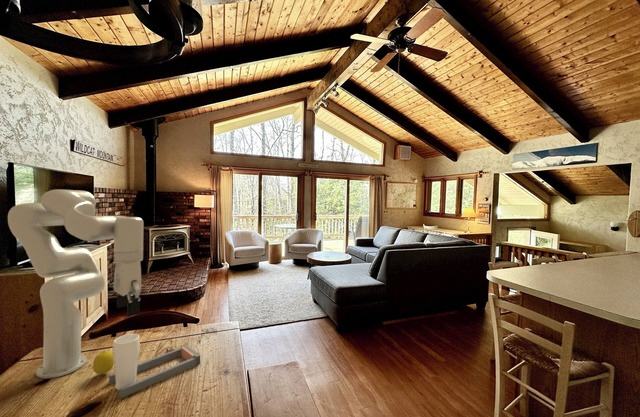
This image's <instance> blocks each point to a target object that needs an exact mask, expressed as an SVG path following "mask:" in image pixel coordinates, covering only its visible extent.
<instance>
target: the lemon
mask: <svg viewBox="0 0 640 417" xmlns="http://www.w3.org/2000/svg"><path fill="white" fill-rule="evenodd" d="M113 366H114V357H113V352H111V351H109V350H102V351H101V352H99V353H98V354H97V355H96V356H95V357H94V360H93V363H92V368H93V372H94V373H95V374H98V375H102V376H104V375H105V374H106V373H109V371H110V370H111V369H112V368H113Z"/></svg>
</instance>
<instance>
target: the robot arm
mask: <svg viewBox="0 0 640 417" xmlns="http://www.w3.org/2000/svg"><path fill="white" fill-rule="evenodd" d="M96 206H97V201H96V198H95V196H94V195H93V194H92V193H91V192H89V191H86V190H79V189H77V190H75V189H74V190H73V189H60V188H59V189H51V190H49V191H46V192H44V194H43V195H42V196H41V198H40V202H27V203H20V204H17V205H16V204H15V205H14V206H12V207H11V208H10V210H8V214H7V224H8V227H9V230H10V232H11V233H12V235H13V236H14V237H15V239H17V241H18V242H19V243H20V244H21V245H22V247H23V248H24V250H25V251H26V252H25V253H26V255H27V256H28V259H29V261H30V264H31V265H32V267H33V269H34V271H35V273H36V274H37V275H38V276H39V277H41V278H44V279H47V278H48V279H49V278H51V279H49V280H47V281H45V282H44V283H43V284H42V285H41V286H40V289H39V296H40V297H39V298H40V303H41V306H42V312H43V347H42V348H43V357H42V358H43V359H42V361H43V362H42V365H40V366H39V367H38V368H37V369H36V373H35V375H36V377H38V378H40V379H53V378H58V377H63V376H65V375H68V374H70V373H73V372H75V371H77V370H79V369H81V368H82V367H83V366H84V365H85V364H86V363H87V356H85V355H84V354H82V312H81V310H80V309H79V308H78V307H77V306H76V305H75V304H74V303H75V302H79V301H80V300H85V299H87V298H92V297H95V296H97V295H99V294H100V293H102V292H103V290H104V289H105V286H106V282H105V278H104V275H103V273H102V271H101V270H100V267H99V265H98V264H97V262H96V259H95V258H94V256H93V254H92V252H91V251H90V250H89V249H87V248H85V247H81V246H79V247H77V246H76V247H67V248H65V247H62V246H61V244H60V242H59V241H58V239H57V237H56V236H55V235H54V234H52V233H51V232H50V231H48V230H46V229H44V228H42V227H52V226H53V227H55V226H56V227H57V226H64V228H65V230H66V232H68V233H69V234H70V235H71V236H73V237H75V238H78V239H80V240H82V241H86V242H95V241H103V240H104V241H105V240H106V241H107V240H113V263H114V264H115V265H114V275H113V276H114V278H113V291H114V292H115V293H116V308H117V309H121V308H124V307H126V316H127V317H131V316H135V315H139V314H140V312H141V290H142V266H141V262H142V261H143V260H144V225H145V224H144V223H145V222H144V220H143V219H142V218H141V217H138V216H124V215H96Z"/></svg>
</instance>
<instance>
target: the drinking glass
mask: <svg viewBox="0 0 640 417" xmlns="http://www.w3.org/2000/svg"><path fill="white" fill-rule="evenodd" d="M140 340H141V339H140V335H139V334H138V333H126V334H123V335H121V336H119V337H118V336H117V337H116V338H115V339H114V340H113V351H112V354H113V357H114V364H113V366H114V368H113V369H114V373H115V380H116V382H115V389H116V390H117V391H119V389H120V388H122V387H125V386H127V385H129V384H132V383H134V382H137V374H138V373H137V366H138V364H139V356H140V348H141V344H140V343H141V341H140Z"/></svg>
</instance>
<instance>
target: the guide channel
mask: <svg viewBox="0 0 640 417" xmlns="http://www.w3.org/2000/svg"><path fill="white" fill-rule="evenodd" d="M178 357H182V358H184V361H182V362H179V363H177V364H175V365H173V366H170V367H168V368H165V369H163V370H160V371H158V372H156V373H153V374H151V375H149V376H147V377H143V378H142V379H139V380H136V382H134V383H132V384H129V385H127V386H125V387H122V388H120V389H119V390H118V393H119V395H118V396H119V399H124V398H126V397H128V396H131V395H133V394H134V393H137V392H139V391H142V390H144V389H146V388H148V387H150V386H153V385H155V384H158V383H160V382H161V381H163V380H166V379H168V378H171V377H173V376H176V375H177V374H180V373H182V372H184V371H187V370H189V369H190V368H194V367H195V366H197V365H200V364H201V354H199V353H198V352H196V350H194V349H192V348H191V347H190V346H188V345H187V344H183V345H181V347H180V348H176V349H174V350H171V351H168V352H165V353H163V354H161V355H158V356H155V357H153V358H150V359H146V360H145V361H143V362H138V366H137V374H139V373H142V372H143V371H147V370H149V369H151V368H154V367H157V366H159V365H162V364H164V363H167V362H169V361H171V360H174V359H177V358H178ZM108 383H109V385H112V384H114V383H116V380H115V372H113V373H110V374H109V375H108Z"/></svg>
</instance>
